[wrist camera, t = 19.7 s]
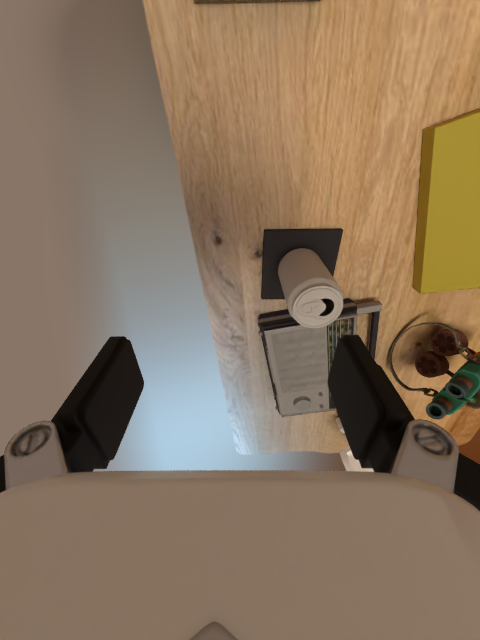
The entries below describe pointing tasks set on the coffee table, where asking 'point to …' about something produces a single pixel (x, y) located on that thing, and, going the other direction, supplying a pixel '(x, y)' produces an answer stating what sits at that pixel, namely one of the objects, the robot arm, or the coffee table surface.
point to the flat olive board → (449, 207)
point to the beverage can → (309, 289)
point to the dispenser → (243, 1)
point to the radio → (308, 356)
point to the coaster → (291, 239)
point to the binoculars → (447, 372)
